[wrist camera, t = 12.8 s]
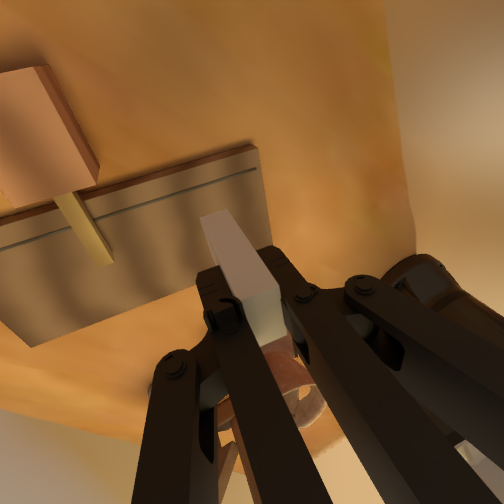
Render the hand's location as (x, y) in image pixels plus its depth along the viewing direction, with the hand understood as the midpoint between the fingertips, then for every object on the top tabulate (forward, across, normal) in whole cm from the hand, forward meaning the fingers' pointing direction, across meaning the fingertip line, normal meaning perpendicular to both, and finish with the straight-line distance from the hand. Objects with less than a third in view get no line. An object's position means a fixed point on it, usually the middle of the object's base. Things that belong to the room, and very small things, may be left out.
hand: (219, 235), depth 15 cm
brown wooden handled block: (+17, +10, -1) cm, 19 cm away
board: (+17, +7, +8) cm, 20 cm away
